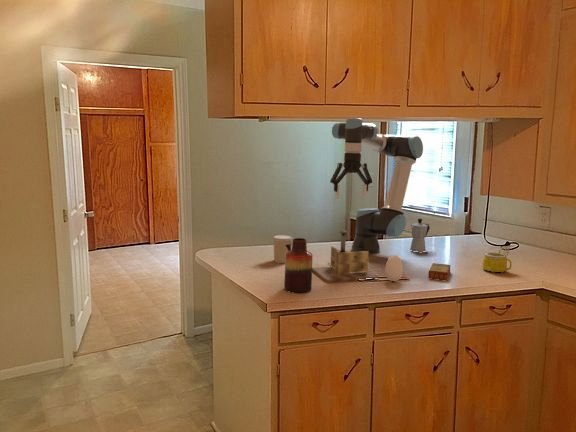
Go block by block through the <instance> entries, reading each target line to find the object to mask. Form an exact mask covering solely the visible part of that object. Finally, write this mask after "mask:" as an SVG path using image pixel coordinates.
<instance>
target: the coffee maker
mask: <svg viewBox="0 0 576 432" xmlns="http://www.w3.org/2000/svg"><path fill="white" fill-rule="evenodd" d="M422 221H423V218H418V219H417V222H416V223H412V224H411V225H410V226H411V227H410V228H411V236H412V239H411V245H410V248H409V251H410V250H412V251H418V252H423V251H426V239H425V238H427V235H428V233H429V231H430V225H429V224H428V223H424V222H422Z"/></svg>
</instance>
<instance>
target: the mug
mask: <svg viewBox="0 0 576 432" xmlns="http://www.w3.org/2000/svg"><path fill="white" fill-rule="evenodd" d="M510 249H511V247H506V246H502V247H500V249H499V251H498V252H492V251H491V252H490V251H488V252H486V253H484V257H483V259H482V263H481V265H482V266H481V267H482V269H483V270H484V271H486V270H487V272H489V271H491V272H490V273H495V272H501V273H505V272H507V271H509V270H511V269H512V267H513V263H512V261H511V259H509V258H508V257H507V256H508V255H509V253H510ZM501 250H502V251H501ZM507 262H509V267H508V264H507ZM504 271H505V272H504Z"/></svg>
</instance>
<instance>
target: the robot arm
mask: <svg viewBox="0 0 576 432" xmlns="http://www.w3.org/2000/svg"><path fill="white" fill-rule="evenodd" d="M351 118H352V119H348V118H347V119H346V121H345V122H338V123H335V124H333V126H332V127H331V135H332V137H333V138H335V139H338V140H345V141H344V157H343V158H344V159H343V163H342V162H338V163H336V164H337V165H336V166H337V167H336V169H335V171H334V172H333V175H332V176H331V178H330V181H329V183H331V184H333V191H334V192H335V195H334V197H335V199H336V200H340V182H341V181H342V180H343V178H344V177H345V176H346V175H348V173H349V174H351V173H353V174H356V175H358V177H359V179H360V180H361V181H362V182H363V184H362V187H361V188H362V191H361V199H367V192H368V191H369V185H370V184H373V179H372V176H371V175H370V172H369V169H368V164H367V163H365V162H362V163H361V160H362V153H361V152H362V146H365V147H368V148H370V149H372V151H374V152H376V153H380V154H382V155H383V156H384V155H385V156H388V157H392V158H393V161H395V164H394V167H393V171H392V175H391V180H390V183H389V188H388V192H387V197H386V201H385V205H384V206H382V207H381V210H380V209H379V208H376V207H375V208H374V207H372V208H369V207H368V208H359V209H358V210H357V211H356V215H355V233H354V234H355V236H354V239H353V241H352V244H351V252H362V251H369V255H373V254H378V253H381V252H380V251H381V249H380V248H381V247H380V243H379V240H378V235H382V236H388V237H394V238H395V237H399V236H401V234H403V232H404V231H405V229H406V226H407V218H406V216H405V215H404V214H405V213H404V211H403V204H404V200H405V196H406V193H407V187H408V183H409V179H410V175H411V171H412V166H413V165H415V164H416V163H417V159H420V158H422V156H423V152H424V144H423V141H422V139H421V137H420V136H419V135H414V134H382V133H379V128H378V126H377V125H376V124H375V123H369V122H367V123H366V122H364V121H363V119H362V118H360V117H351ZM343 168H344V169H343ZM360 168H361V169H362V170H363V173H362V170H361V169H360ZM342 169H343V170H342ZM341 170H342V172H341Z"/></svg>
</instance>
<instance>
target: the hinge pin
mask: <svg viewBox="0 0 576 432" xmlns="http://www.w3.org/2000/svg"><path fill="white" fill-rule="evenodd" d="M339 233H340V250H341V251H340V252H345V250H346V244H347V243H346V240H347V238H346V237H347V234H348V230H343V229H342V230H340V231H339Z"/></svg>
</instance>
